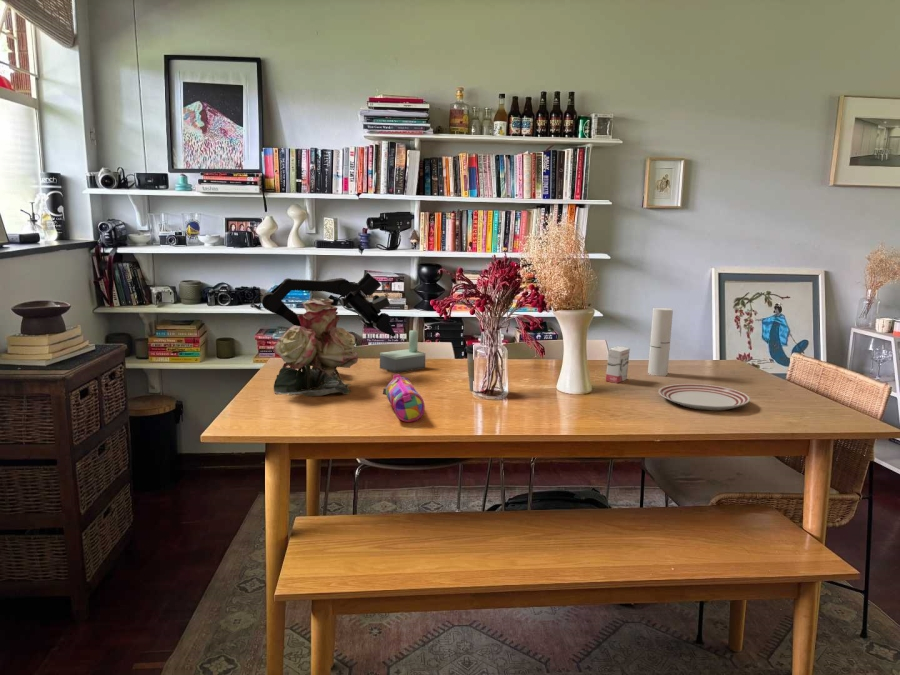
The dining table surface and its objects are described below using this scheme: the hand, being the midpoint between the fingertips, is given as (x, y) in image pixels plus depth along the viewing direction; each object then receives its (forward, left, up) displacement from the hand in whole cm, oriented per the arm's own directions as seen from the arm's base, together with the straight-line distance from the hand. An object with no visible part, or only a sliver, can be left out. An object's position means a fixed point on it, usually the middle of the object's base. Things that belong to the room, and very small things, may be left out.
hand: (389, 333), depth 245 cm
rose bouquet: (+8, -34, -14) cm, 38 cm away
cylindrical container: (+63, +80, -14) cm, 103 cm away
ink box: (+60, +58, -14) cm, 85 cm away
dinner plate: (+94, +56, -14) cm, 111 cm away
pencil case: (+47, -29, -14) cm, 57 cm away
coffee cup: (+41, +7, -14) cm, 44 cm away
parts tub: (0, +6, -14) cm, 15 cm away
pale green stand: (0, +6, -9) cm, 11 cm away
